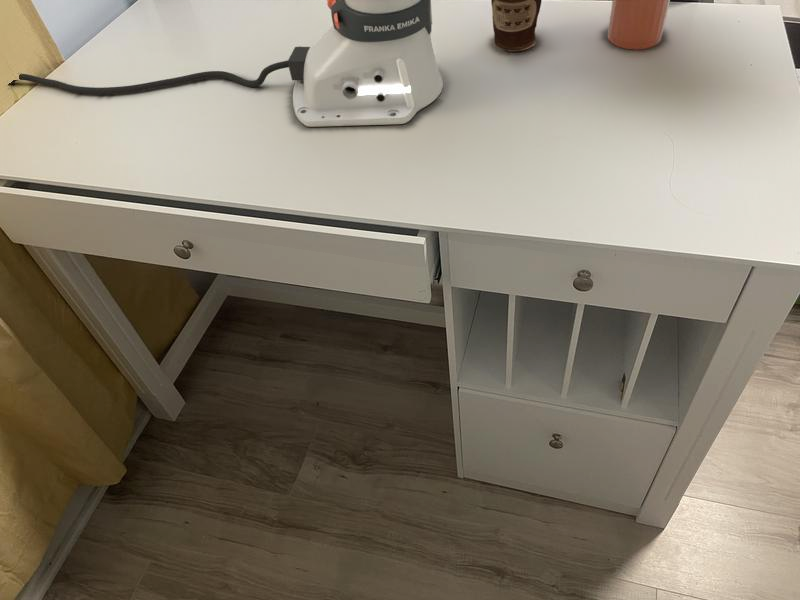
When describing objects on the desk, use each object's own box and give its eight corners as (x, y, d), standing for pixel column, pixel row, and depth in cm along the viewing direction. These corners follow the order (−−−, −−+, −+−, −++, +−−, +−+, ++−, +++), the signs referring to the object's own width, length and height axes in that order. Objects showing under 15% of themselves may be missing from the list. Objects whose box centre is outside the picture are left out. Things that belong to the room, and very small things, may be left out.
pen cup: (617, 52, 100) (628, -14, 93) (600, 27, 106) (610, -38, 98) (669, 45, 100) (684, -22, 93) (650, 20, 106) (663, -46, 98)
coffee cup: (540, 58, 101) (546, -29, 91) (485, 57, 103) (486, -29, 93) (543, 29, 107) (549, -56, 97) (491, 29, 108) (492, -55, 99)
